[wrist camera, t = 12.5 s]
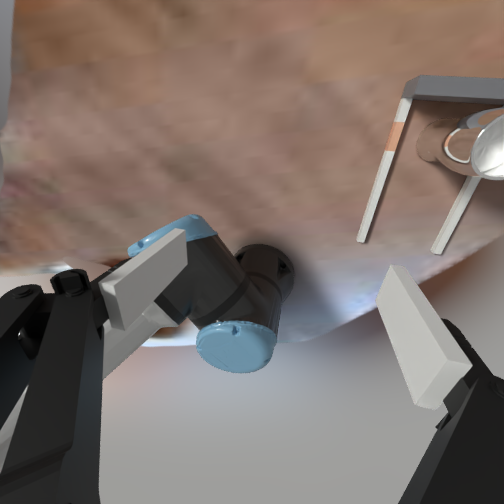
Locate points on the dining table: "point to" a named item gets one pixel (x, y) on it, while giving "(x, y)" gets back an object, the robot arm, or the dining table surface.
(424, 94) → the guide track
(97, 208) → the dining table surface
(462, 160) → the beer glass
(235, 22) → the dining table surface
